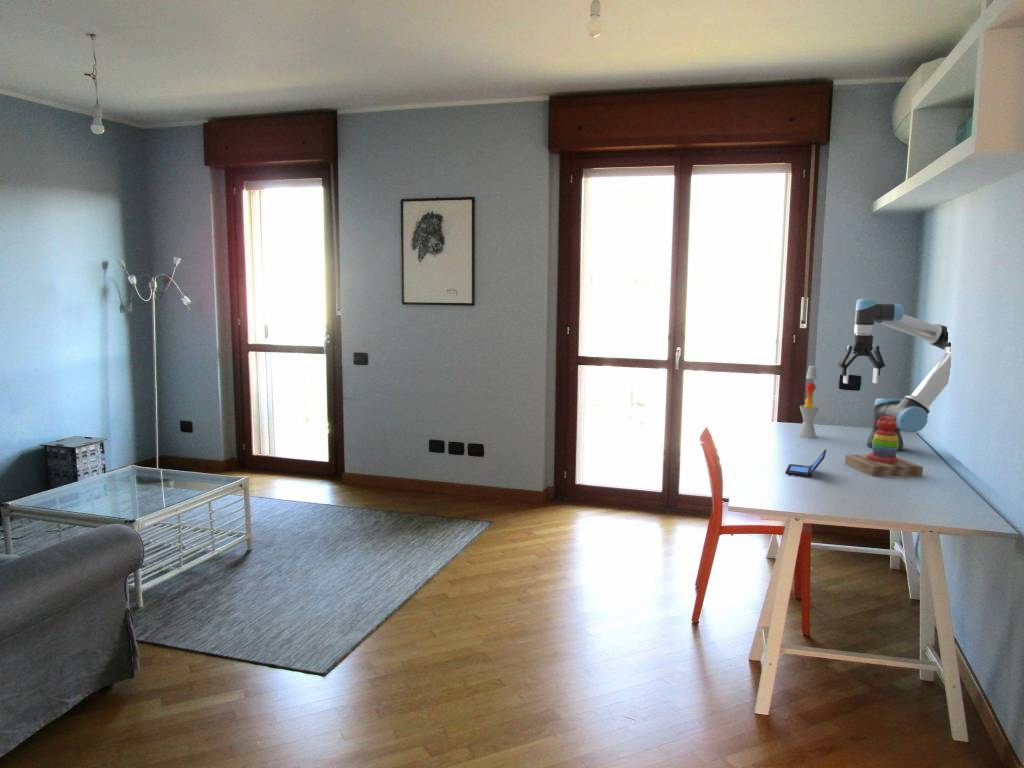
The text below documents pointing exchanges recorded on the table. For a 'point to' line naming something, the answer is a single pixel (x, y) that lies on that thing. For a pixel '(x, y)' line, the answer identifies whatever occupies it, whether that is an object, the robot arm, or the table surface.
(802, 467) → the handheld game console
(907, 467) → the walnut plinth
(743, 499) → the table surface
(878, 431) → the stacking bear
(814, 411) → the lava lamp
